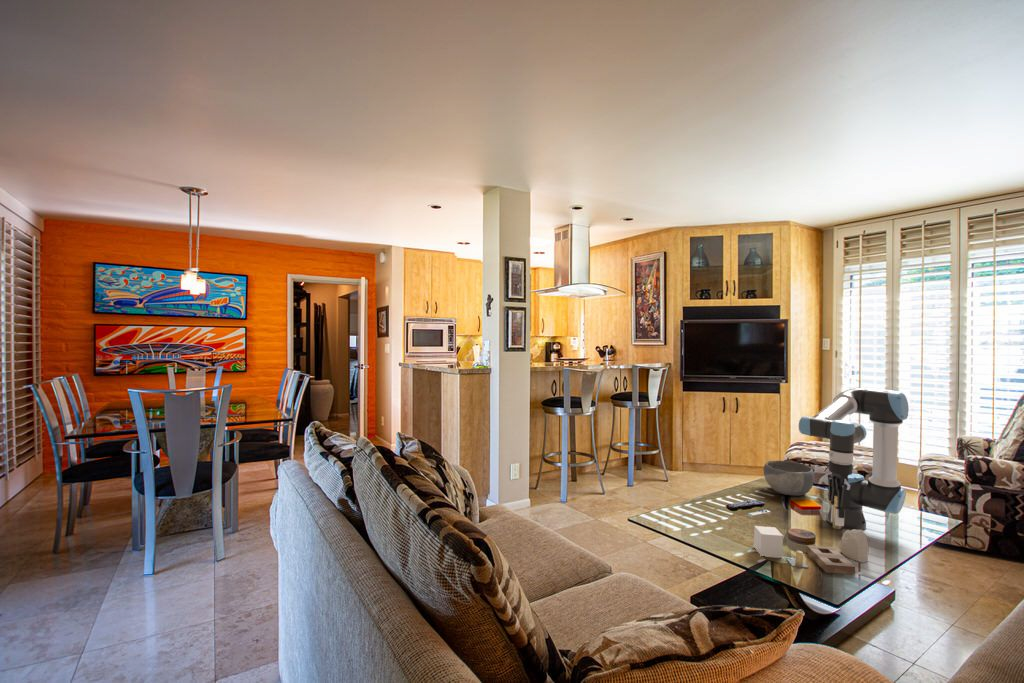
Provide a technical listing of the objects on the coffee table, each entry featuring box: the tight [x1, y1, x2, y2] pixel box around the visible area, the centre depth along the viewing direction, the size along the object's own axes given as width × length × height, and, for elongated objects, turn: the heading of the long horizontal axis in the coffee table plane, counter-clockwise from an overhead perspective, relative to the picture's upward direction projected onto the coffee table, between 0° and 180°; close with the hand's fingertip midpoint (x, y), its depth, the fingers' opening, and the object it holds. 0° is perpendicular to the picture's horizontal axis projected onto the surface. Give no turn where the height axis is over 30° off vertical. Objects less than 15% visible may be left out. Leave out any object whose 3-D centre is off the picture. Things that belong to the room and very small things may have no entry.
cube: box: [753, 525, 784, 559], centre depth 201 cm, size 8×8×9 cm
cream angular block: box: [786, 550, 809, 569], centre depth 192 cm, size 6×6×5 cm
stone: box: [838, 529, 870, 563], centre depth 198 cm, size 10×5×12 cm, turn 19°
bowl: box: [763, 460, 815, 497], centre depth 273 cm, size 24×24×15 cm
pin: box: [832, 495, 842, 530], centre depth 188 cm, size 3×3×12 cm
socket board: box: [806, 545, 856, 575], centre depth 193 cm, size 16×10×3 cm, turn 172°
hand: (837, 523), depth 188 cm, fingers closed on pin, 2 cm apart
